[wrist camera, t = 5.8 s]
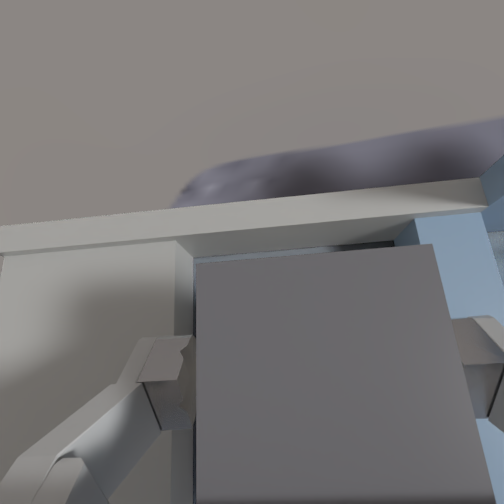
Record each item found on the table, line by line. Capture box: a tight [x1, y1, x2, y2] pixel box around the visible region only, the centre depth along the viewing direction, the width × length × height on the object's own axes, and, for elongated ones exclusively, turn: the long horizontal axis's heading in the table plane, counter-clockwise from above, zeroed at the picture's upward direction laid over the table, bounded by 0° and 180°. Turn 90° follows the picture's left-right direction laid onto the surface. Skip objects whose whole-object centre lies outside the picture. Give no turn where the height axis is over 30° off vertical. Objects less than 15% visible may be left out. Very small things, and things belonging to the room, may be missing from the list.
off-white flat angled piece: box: [0, 177, 489, 504], centre depth 12 cm, size 19×11×3 cm, turn 93°
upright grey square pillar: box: [196, 244, 496, 504], centre depth 9 cm, size 4×4×9 cm
